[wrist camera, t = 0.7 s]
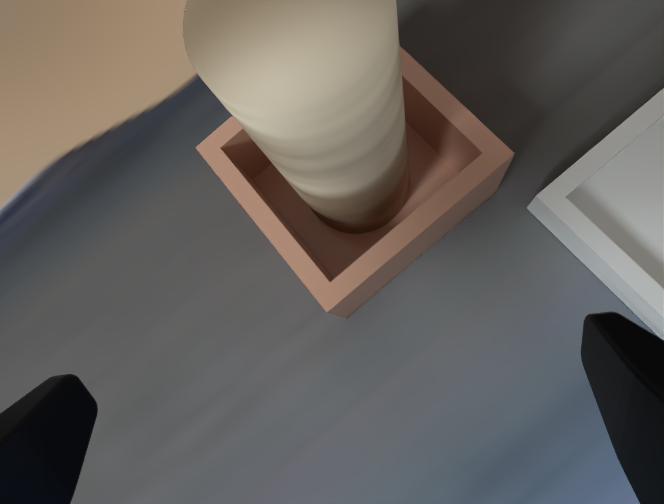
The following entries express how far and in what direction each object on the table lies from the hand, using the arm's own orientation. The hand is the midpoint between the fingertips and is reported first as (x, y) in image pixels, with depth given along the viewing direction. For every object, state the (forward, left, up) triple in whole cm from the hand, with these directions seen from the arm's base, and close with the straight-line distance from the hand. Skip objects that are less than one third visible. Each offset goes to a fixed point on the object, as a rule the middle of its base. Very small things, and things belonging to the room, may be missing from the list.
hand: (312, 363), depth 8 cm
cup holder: (+7, -4, -13) cm, 16 cm away
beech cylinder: (+7, -4, -13) cm, 15 cm away
